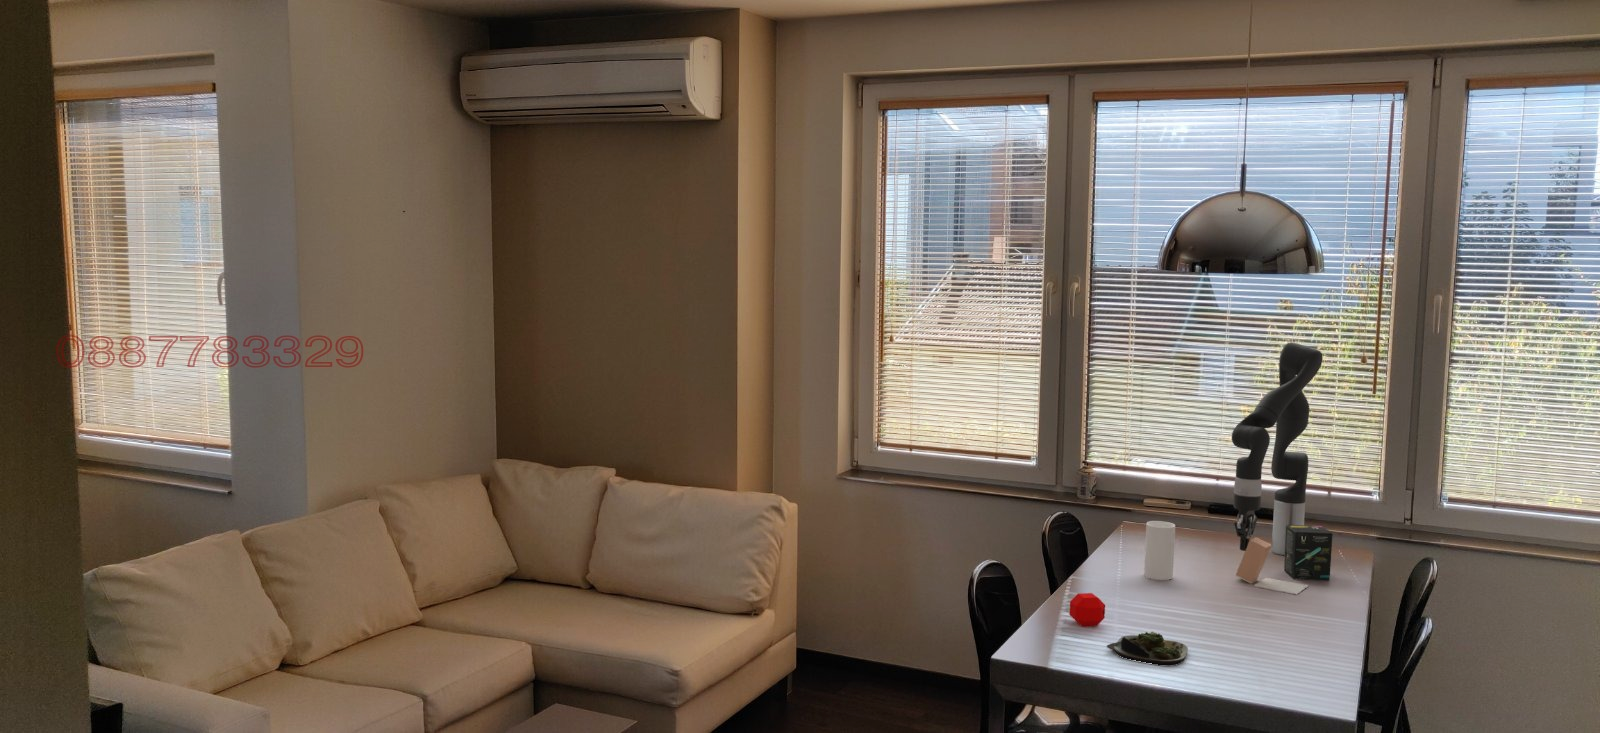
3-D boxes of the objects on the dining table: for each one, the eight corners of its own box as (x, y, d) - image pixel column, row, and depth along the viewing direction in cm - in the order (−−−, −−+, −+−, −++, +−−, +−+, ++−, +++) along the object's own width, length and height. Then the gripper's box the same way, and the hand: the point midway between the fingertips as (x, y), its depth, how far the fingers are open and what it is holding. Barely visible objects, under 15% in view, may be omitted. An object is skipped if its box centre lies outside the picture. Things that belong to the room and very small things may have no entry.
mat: (1266, 578, 339) (1266, 577, 339) (1308, 586, 331) (1308, 585, 331) (1253, 586, 331) (1253, 585, 331) (1296, 594, 323) (1296, 593, 323)
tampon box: (1319, 572, 347) (1322, 525, 346) (1330, 580, 338) (1333, 532, 337) (1282, 570, 348) (1285, 524, 347) (1292, 579, 339) (1295, 531, 338)
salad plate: (1121, 634, 288) (1121, 616, 288) (1194, 646, 280) (1195, 628, 279) (1102, 657, 271) (1103, 638, 271) (1179, 671, 263) (1180, 652, 262)
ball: (1107, 628, 291) (1109, 599, 290) (1078, 629, 290) (1079, 600, 289) (1094, 618, 299) (1095, 590, 298) (1066, 619, 298) (1067, 591, 297)
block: (1241, 572, 340) (1255, 536, 337) (1257, 580, 337) (1271, 544, 334) (1235, 575, 336) (1249, 540, 333) (1251, 583, 334) (1266, 547, 330)
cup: (1142, 578, 338) (1145, 525, 336) (1145, 571, 345) (1147, 519, 344) (1171, 581, 334) (1174, 528, 333) (1173, 574, 342) (1176, 522, 340)
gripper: (1252, 498, 328) (1249, 556, 329) (1268, 491, 338) (1264, 548, 339) (1226, 494, 332) (1223, 552, 334) (1242, 487, 342) (1239, 543, 344)
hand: (1244, 550), depth 337 cm, fingers closed
